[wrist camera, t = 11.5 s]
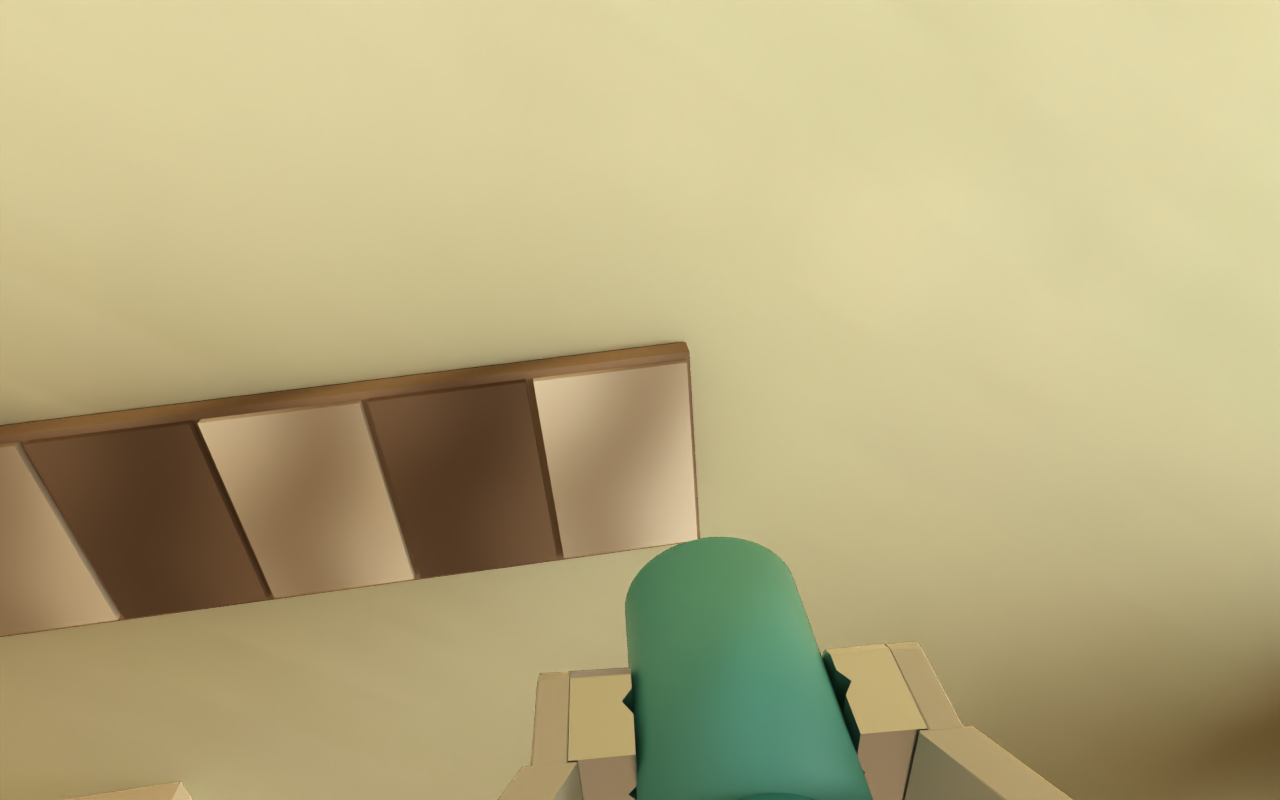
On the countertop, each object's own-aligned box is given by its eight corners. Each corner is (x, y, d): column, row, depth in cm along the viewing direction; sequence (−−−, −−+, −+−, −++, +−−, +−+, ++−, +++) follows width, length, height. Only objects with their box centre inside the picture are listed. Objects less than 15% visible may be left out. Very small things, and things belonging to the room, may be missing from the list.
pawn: (800, 529, 13) (981, 969, 7) (791, 657, 14) (932, 1103, 8) (619, 544, 13) (647, 1003, 7) (630, 671, 14) (659, 1132, 8)
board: (685, 342, 18) (690, 354, 18) (696, 527, 21) (701, 545, 20) (-314, 464, 17) (-351, 483, 16) (-158, 644, 20) (-185, 667, 19)
